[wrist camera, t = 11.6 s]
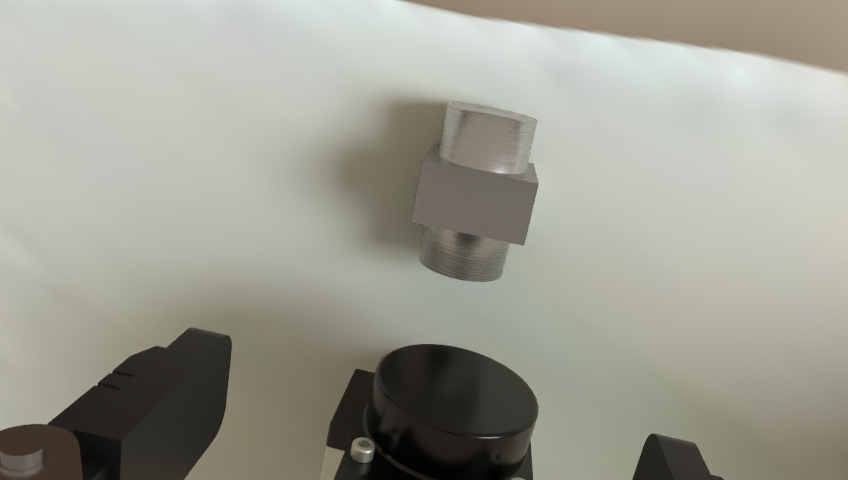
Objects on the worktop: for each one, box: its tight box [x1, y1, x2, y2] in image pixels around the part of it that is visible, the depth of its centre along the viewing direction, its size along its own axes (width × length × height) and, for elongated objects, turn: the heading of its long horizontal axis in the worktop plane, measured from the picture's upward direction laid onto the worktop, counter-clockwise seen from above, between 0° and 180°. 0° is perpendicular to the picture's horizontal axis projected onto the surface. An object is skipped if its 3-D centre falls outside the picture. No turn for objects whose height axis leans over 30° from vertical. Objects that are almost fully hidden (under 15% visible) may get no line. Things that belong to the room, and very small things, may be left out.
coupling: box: [411, 103, 539, 282], centre depth 32 cm, size 5×8×5 cm
